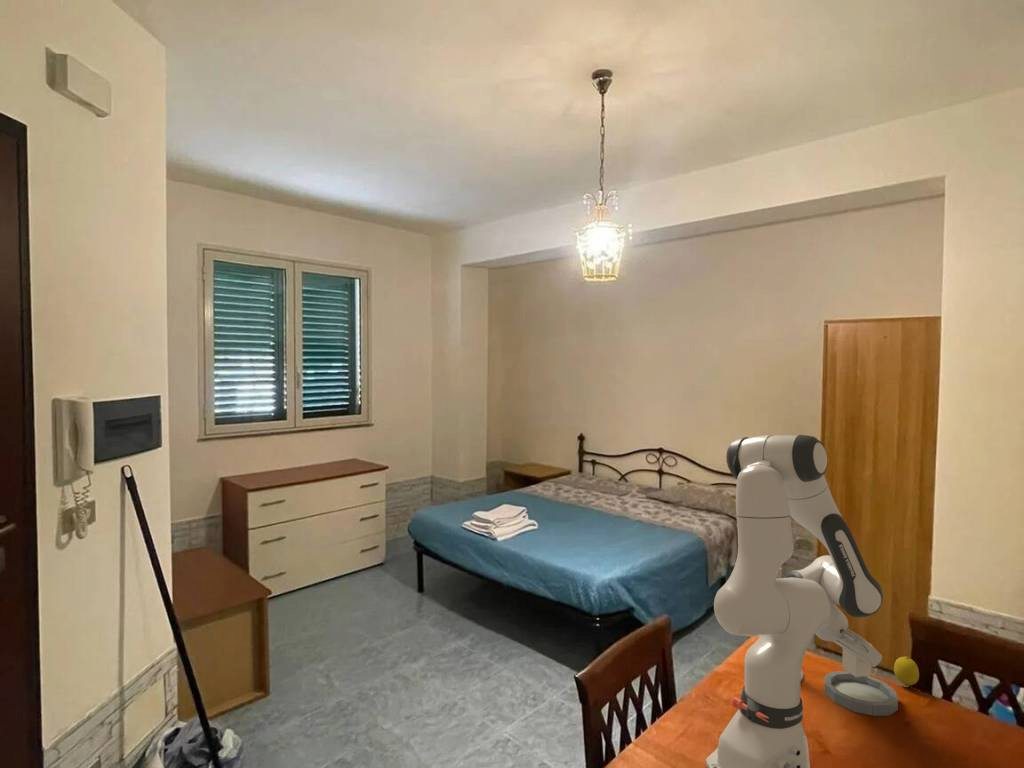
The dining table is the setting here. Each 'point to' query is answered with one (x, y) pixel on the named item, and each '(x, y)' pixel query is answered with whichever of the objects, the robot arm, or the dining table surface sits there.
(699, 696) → the dining table surface
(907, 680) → the lemon
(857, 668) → the block
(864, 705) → the dish
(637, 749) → the dining table surface
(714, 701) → the dining table surface
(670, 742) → the dining table surface
